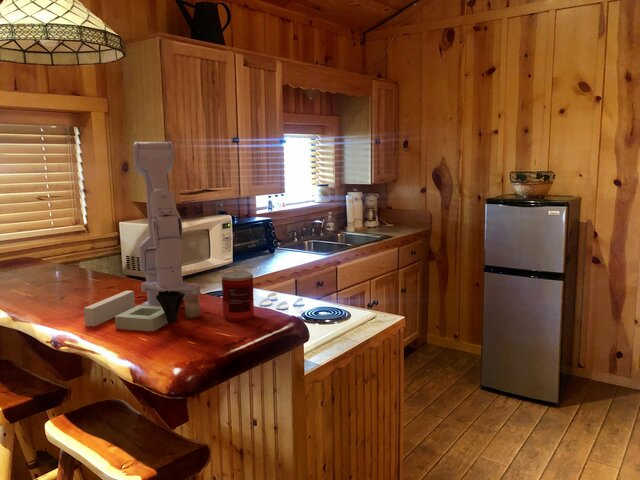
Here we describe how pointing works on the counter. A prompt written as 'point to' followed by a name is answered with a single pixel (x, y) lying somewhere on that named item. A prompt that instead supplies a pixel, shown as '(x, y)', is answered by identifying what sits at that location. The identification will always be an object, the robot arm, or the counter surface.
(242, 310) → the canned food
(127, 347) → the counter surface
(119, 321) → the socket block
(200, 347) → the counter surface
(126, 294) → the wall board
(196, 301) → the dowel
